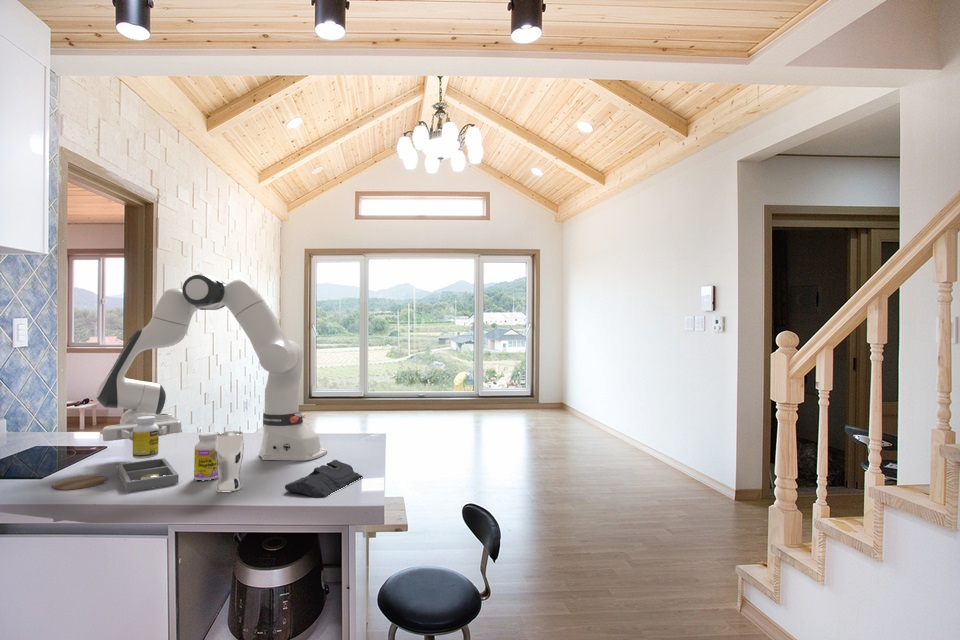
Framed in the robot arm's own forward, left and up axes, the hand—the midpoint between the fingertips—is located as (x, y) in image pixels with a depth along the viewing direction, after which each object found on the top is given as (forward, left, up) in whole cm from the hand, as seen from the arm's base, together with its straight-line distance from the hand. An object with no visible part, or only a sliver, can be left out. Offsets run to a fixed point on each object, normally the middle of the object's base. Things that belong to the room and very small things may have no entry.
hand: (146, 433), depth 154 cm
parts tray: (-3, +3, -12) cm, 13 cm away
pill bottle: (+1, -1, -7) cm, 7 cm away
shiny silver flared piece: (-33, +6, -12) cm, 36 cm away
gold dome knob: (-8, +6, -12) cm, 16 cm away
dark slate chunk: (-55, -5, -13) cm, 57 cm away
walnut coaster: (+10, +12, -12) cm, 19 cm away
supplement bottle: (-20, -1, -12) cm, 24 cm away
